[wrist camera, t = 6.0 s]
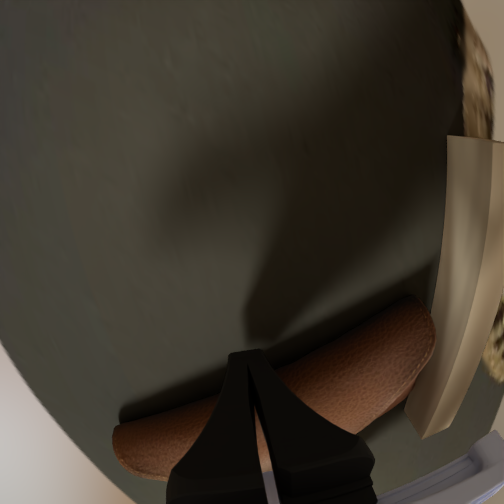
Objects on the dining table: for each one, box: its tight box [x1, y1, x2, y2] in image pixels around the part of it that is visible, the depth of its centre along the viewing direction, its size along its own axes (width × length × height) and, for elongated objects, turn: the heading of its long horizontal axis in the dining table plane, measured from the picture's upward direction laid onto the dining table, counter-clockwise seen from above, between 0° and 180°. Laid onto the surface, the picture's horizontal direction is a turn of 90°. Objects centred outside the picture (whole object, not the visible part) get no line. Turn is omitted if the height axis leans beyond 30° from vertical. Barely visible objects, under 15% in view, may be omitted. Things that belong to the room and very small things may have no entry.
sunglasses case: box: [112, 294, 437, 481], centre depth 15 cm, size 18×7×7 cm, turn 116°
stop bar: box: [404, 135, 504, 439], centre depth 14 cm, size 2×18×3 cm, turn 6°
